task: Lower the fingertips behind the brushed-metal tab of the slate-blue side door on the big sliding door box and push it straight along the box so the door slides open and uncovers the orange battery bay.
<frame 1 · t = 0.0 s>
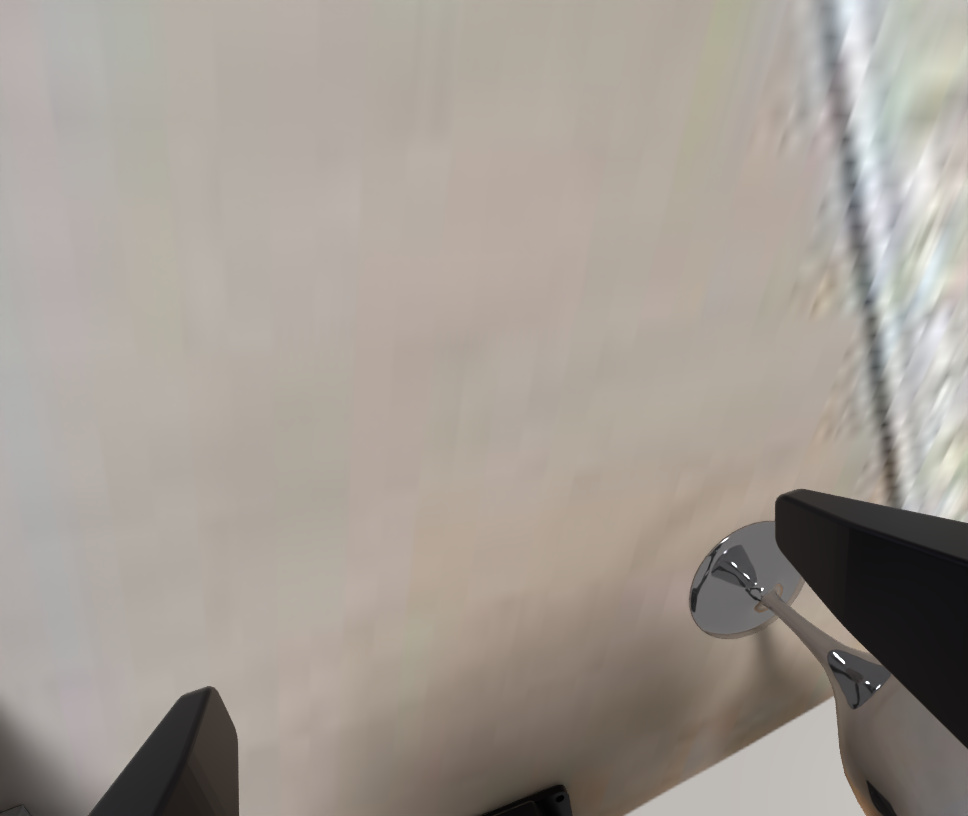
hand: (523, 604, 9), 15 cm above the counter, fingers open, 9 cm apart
wine glass: (747, 579, 32), on the counter
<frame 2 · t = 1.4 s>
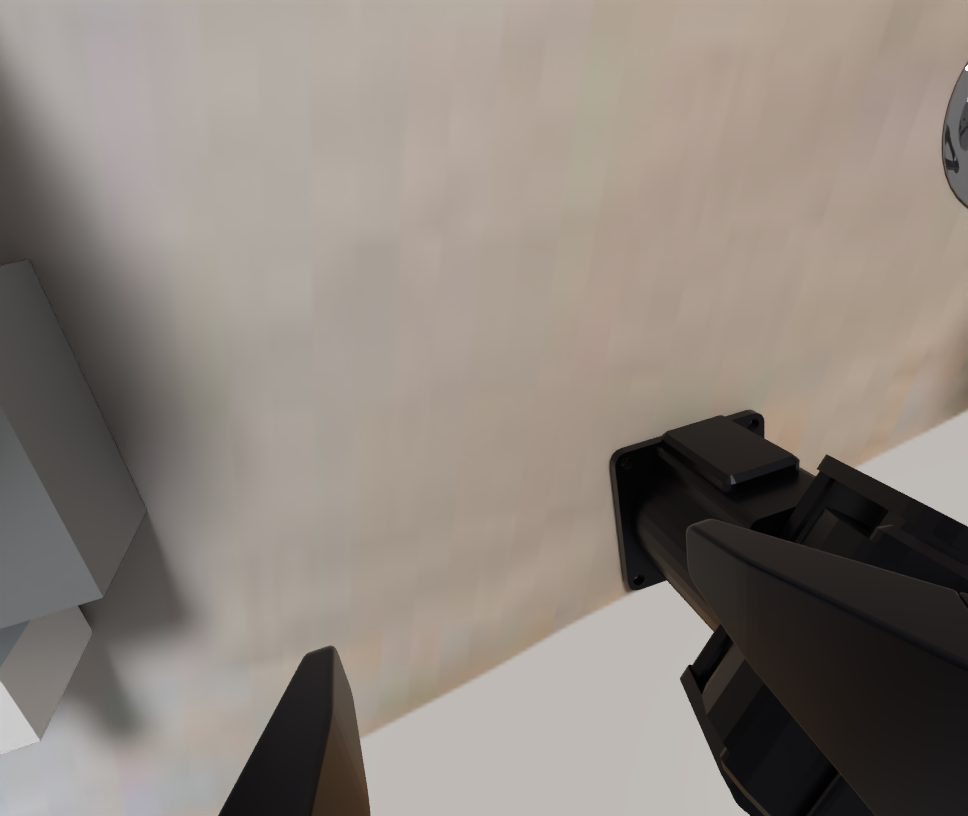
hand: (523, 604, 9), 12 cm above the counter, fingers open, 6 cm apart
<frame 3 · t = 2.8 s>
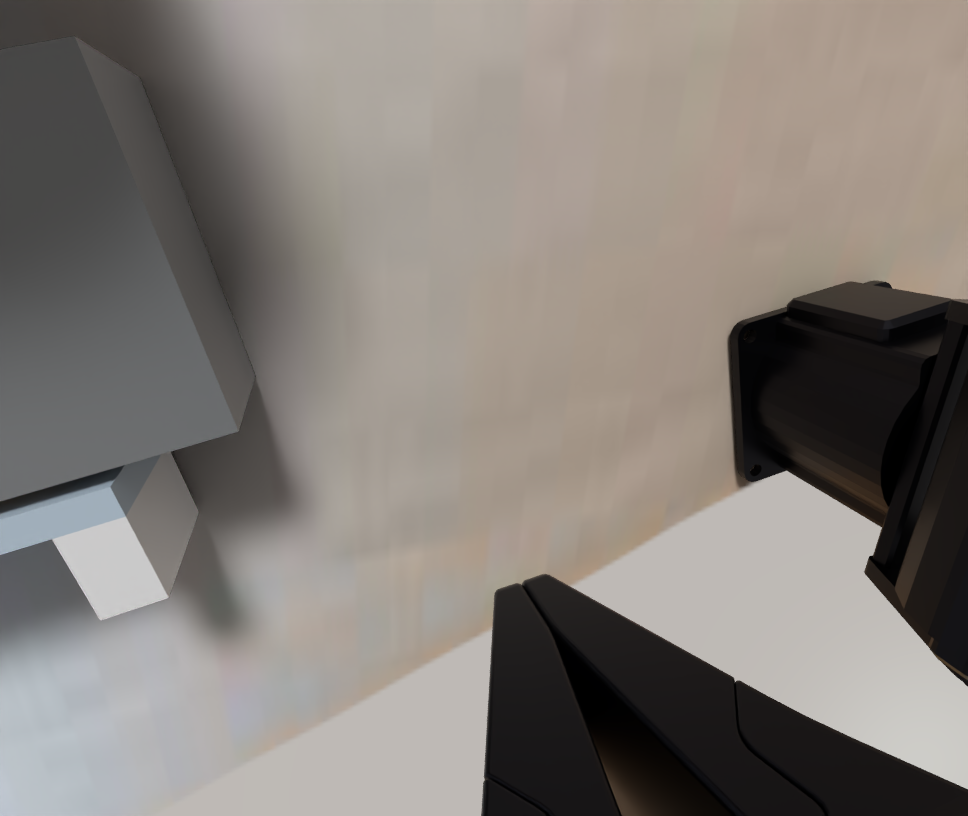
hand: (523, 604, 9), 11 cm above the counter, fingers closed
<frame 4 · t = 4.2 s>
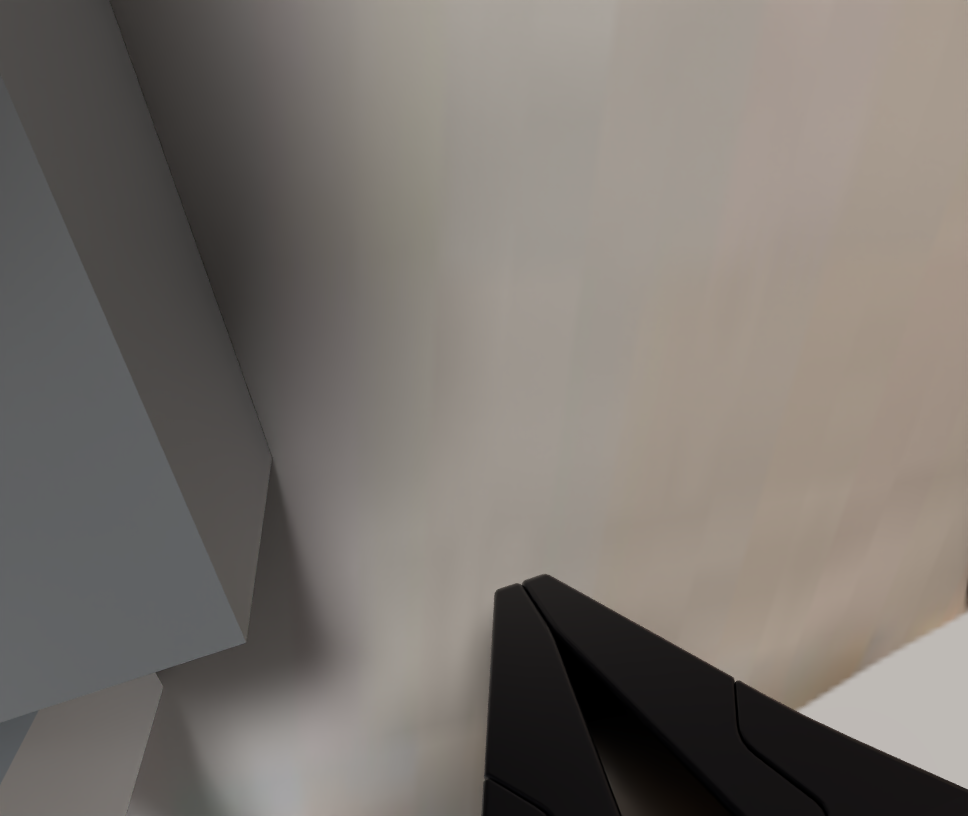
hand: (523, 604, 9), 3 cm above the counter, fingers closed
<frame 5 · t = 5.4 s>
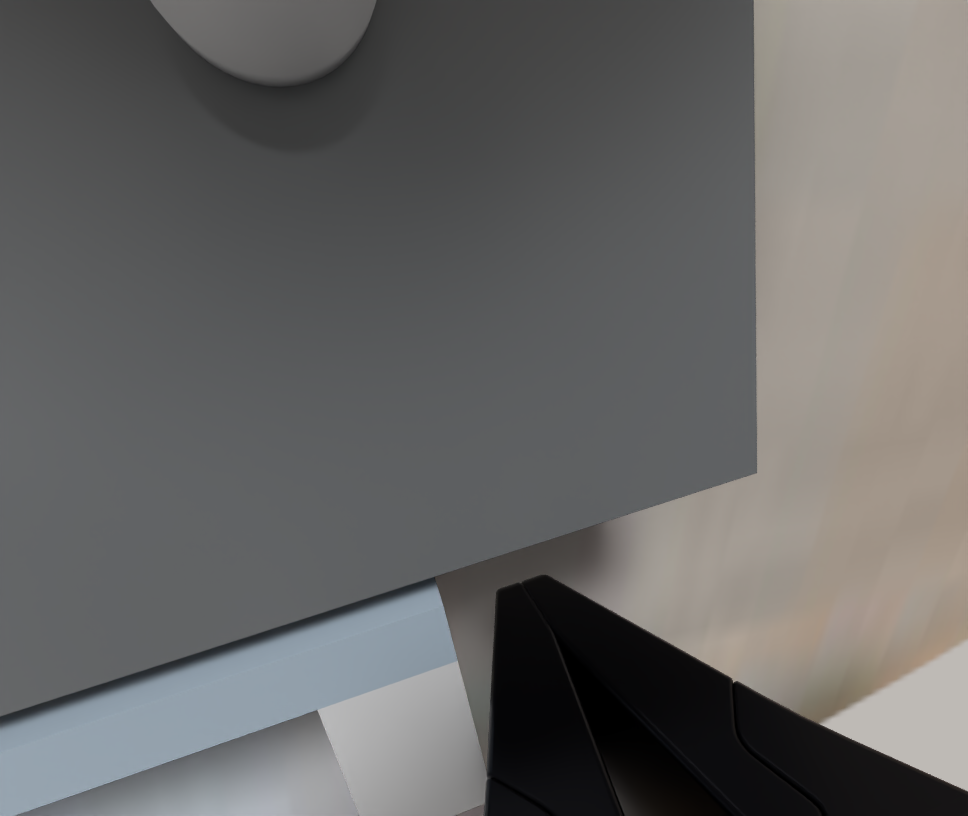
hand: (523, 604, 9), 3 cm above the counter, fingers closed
side door: (83, 715, 8), point 2 cm above the counter, slide at 0.9 cm, touching gripper
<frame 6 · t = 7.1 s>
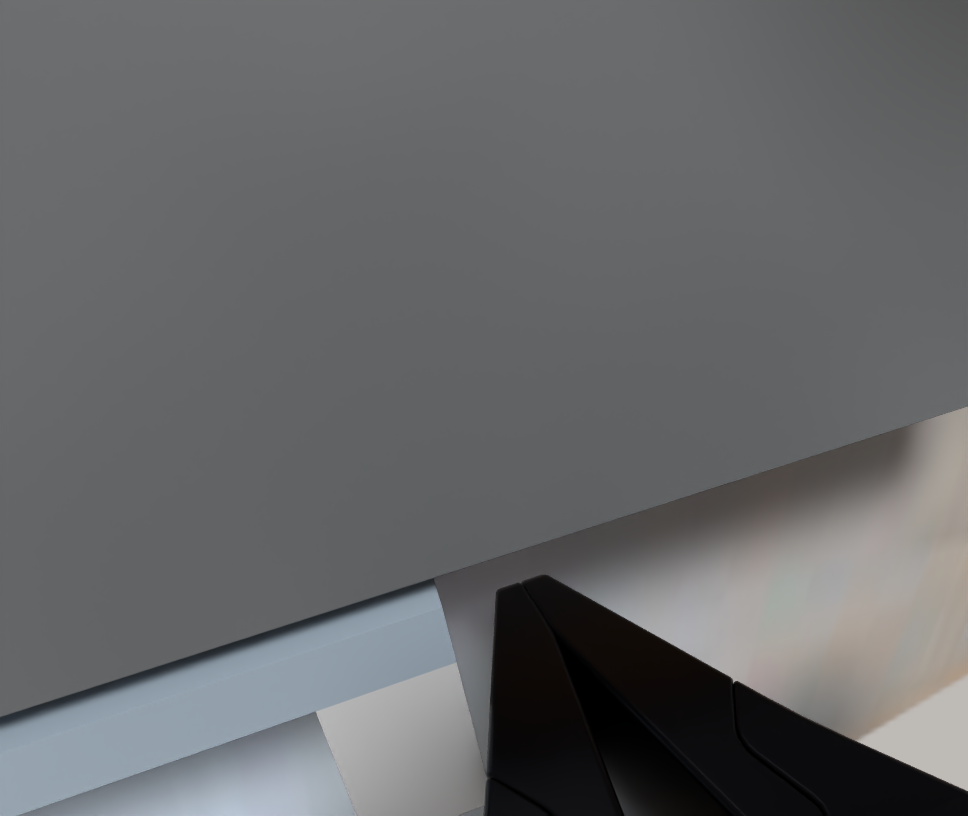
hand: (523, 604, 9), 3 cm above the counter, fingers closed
sliding door box: (492, 150, 9), on the counter
side door: (81, 716, 8), point 2 cm above the counter, slide at 8.7 cm, touching gripper
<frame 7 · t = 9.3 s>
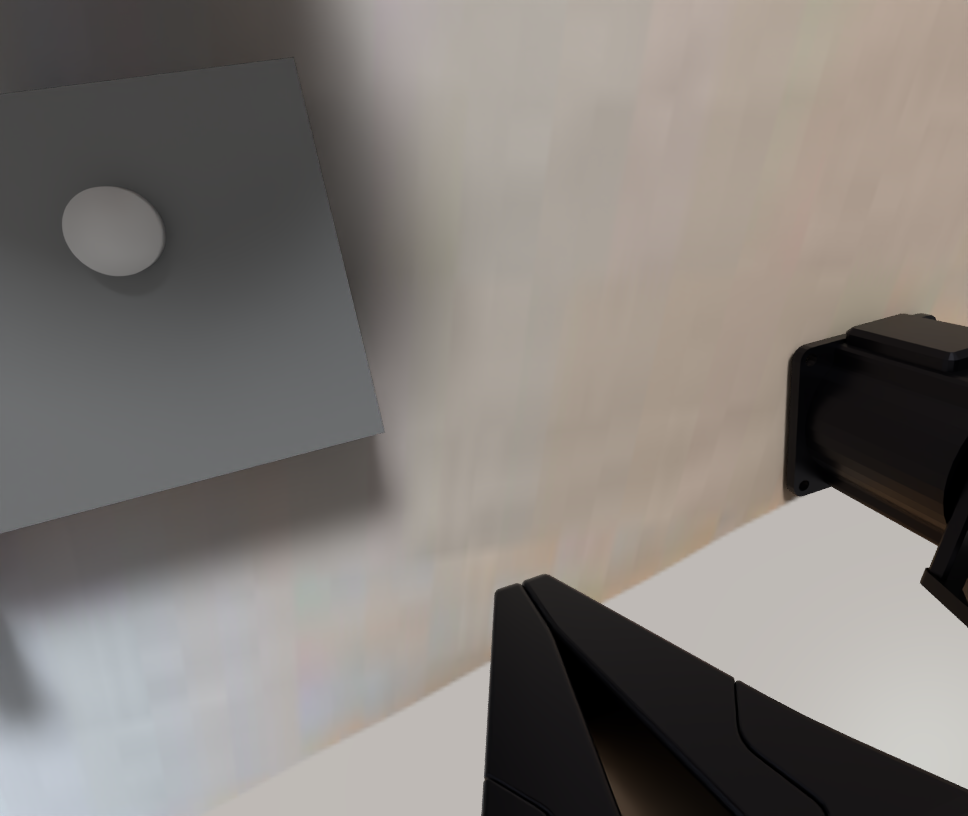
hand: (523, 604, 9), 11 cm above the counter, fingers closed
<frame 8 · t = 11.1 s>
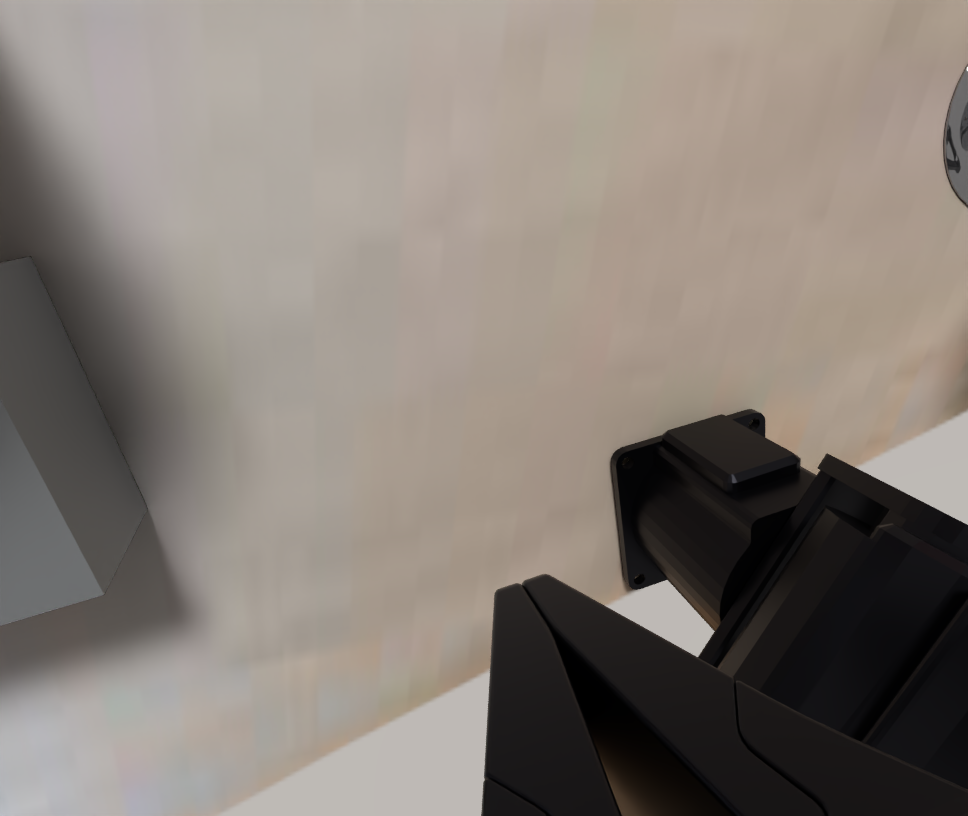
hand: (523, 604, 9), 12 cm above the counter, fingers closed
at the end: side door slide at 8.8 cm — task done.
